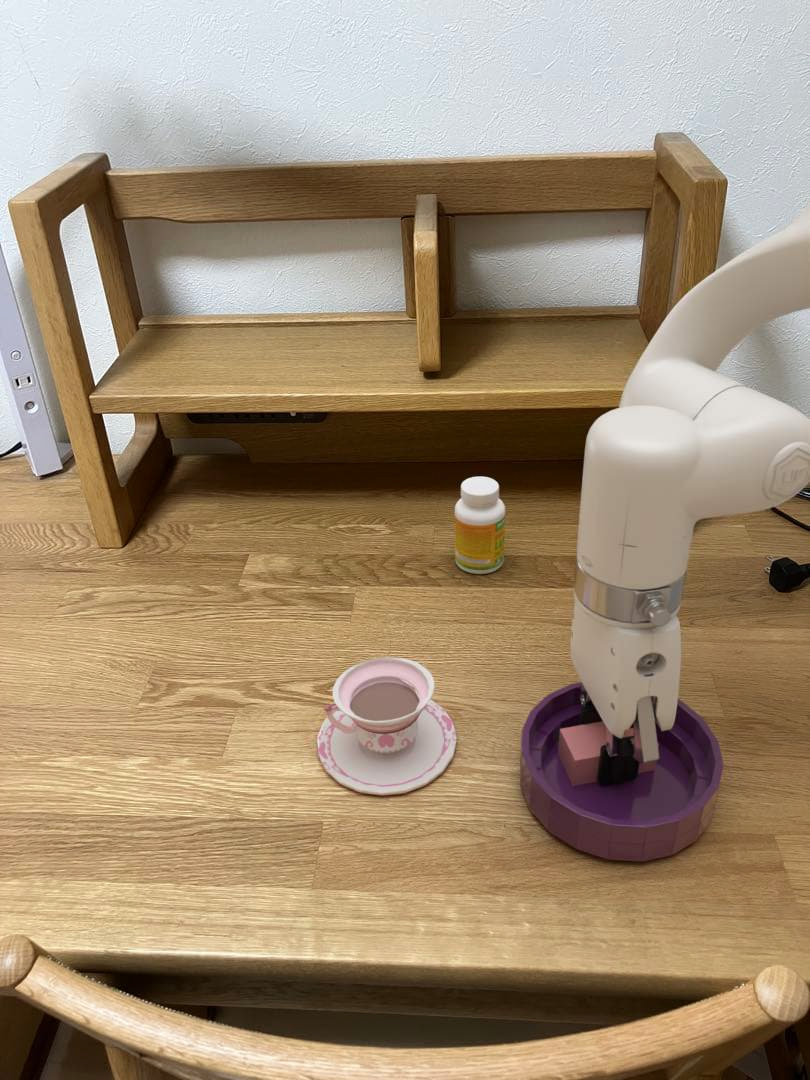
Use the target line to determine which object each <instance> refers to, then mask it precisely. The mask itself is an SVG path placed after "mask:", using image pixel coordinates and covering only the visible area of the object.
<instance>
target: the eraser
mask: <svg viewBox="0 0 810 1080" xmlns="http://www.w3.org/2000/svg"><path fill="white" fill-rule="evenodd" d="M606 728H607V727H606V725H605V724H604V722H603V721H602V722H596V723H591V724H585V725H579V726H573V727H568V728H562V729H560V734H559V747H558V756H559V758H560V760H561V762H562V764H563V767H564V769H565V771H566V773H567V775H568V777H569V779H570V782H571V784H572V786H577V785H582V784H587V783H592V782H597V781H598V780H597V776H598V767H599V758H600V749H601V746H603V745H606ZM628 736H633V728H631V729H628V730H625V735H624V736H623V737H628ZM658 747H659V744H658ZM655 765H656V762H651V763H646V764H641V763H639V770H638V774H639V773H644V772H649V771H654V770H655Z"/></svg>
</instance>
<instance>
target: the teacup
mask: <svg viewBox="0 0 810 1080" xmlns="http://www.w3.org/2000/svg"><path fill="white" fill-rule="evenodd" d="M434 693H435V679H434V677H433V675H432V673H431V672H430V670H429V669H427V667H425V666H424V665H422V664H420V663H418V662H416V661H414V660H411V659H408V658H404V657H397V656H396V657H395V656H386V657H385V656H384V657H376V658H371V659H367V660H364V661H361V662H359V663H357V664H355V665H352V666H351V667H349V668H347V669H346V670H345V671H343V672H342V673H341V674H340V675H339V677H338V678H337V679H336V681H335V683H334V685H333V687H332V699H333V702H334V703H333V704H328V705H327V706H325V707H324V708H323V711H325V712H326V714H327V717H326V718H325V719H324V720H323V721H322V724H321V726H320V729H319V732H318V734H317V736H316V742H317V757H318V758H319V761H320V762H321V764H322V767H323V769H324V771H325V773H327V774H328V775H329V776H331V778H333V780H335V781H336V782H337V783H338V784H339V785H341V786H343V787H346V788H348V789H351V790H353V791H355V792H358V793H359V794H360V793H361V794H368V795H374V796H375V795H376V796H391V795H392V796H393V795H400V794H406V793H410V792H411V791H414V790H416V789H419V788H422V787H425V786H427V785H428V784H430V783H431V782H432V781H434V780H435V779H437V777H439V776H440V775H441V774H443V773H444V772H445V770H446V769H447V767H448V765H449V764H450V763H451V761H453V758H454V756H455V751H456V746H457V742H458V737H457V733H456V728H455V723H454V721H453V720H452V718H451V717H450V715H449V713H447V711H446V710H445V708H444V707H442V706H441V705H440V704H438V703H436V701H434V700H432V697H433V696H434Z"/></svg>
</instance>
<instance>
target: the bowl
mask: <svg viewBox="0 0 810 1080" xmlns="http://www.w3.org/2000/svg"><path fill="white" fill-rule="evenodd" d="M581 685H582V682H580V681H579V682H574V683H571V684H568V685H566V686H563V687H561V688H559V689H557V690H555V691H552V692H550V693H548V694H547V695H545V696H544V698H543V699H541V700H540V701H539V702H538V703H537V704H536V705H534V707H532V709H531V710H530V711H529V714H528V716H527V718H526V720H525V723H524V725H523V727H522V728H521V735H520V736H521V737H520V738H521V739H520V756H519V757H520V760H519V761H520V762H519V786H520V789H521V792H522V794H523V796H524V799H525V802H526V804H527V807H528V809H529V811H530V812H531V813H532V814H533V815H534V817H536V818H537V820H538V821H539V823H540V824H541V825H542V826H543V827H544V828H545V829H546V830H547V832H549V833H550V834H552V835H554V836H555V837H557V838H558V839H560V840H561V841H563V842H564V843H566V844H567V845H569V846H571V847H572V848H574V849H576V850H578V851H580V852H584V853H587V854H589V855H593V856H595V857H600V858H603V859H604V860H610V861H626V862H627V861H628V862H647V861H651V860H655V859H661V858H664V857H665V858H666V857H670V856H673V855H675V854H677V853H678V852H680V851H682V850H683V849H685V848H687V847H688V846H690V845H691V844H693V843H695V842H696V841H698V839H699V838H700V836H702V834H703V833H704V831H705V830H706V828H707V827H708V826H709V824H710V823H711V821H712V819H713V815H714V811H715V806H716V802H717V799H718V794H719V789H720V784H721V780H722V775H723V769H724V759H723V755H722V751H721V747H720V743H719V740H718V738H717V737H716V735H715V734H714V732H713V730H712V729H711V728H710V726H709V725H708V723H707V722H706V721H705V719H704V717H702V716H701V715H700V714H698V713H697V712H696V711H695V710H694V709H692V708H691V707H690V706H688V704H686V703H685V702H684V701H683V700H681V699H679V698H678V702H677V710H676V717H675V721H674V725H673V727H672V728H671V729H670V730H665V731H661V729H660V727H659V726H658V724H657V722H656V721H655V726H656V734H657V742H658V744H659V747H658V750H659V761H656V765H655V770H654V771H649V772H644V773H639V774H638V776H637V778H636V779H634V780H630V781H627V782H623V783H614V784H609V785H604V786H602V785H600V784H599V782H598V781H597V782H592V783H587V784H582V785H577V786H572V784H571V782H570V779H569V777H568V775H567V773H566V771H565V769H564V767H563V764H562V762H561V760H560V758H559V756H558V747H559V734H560V729H562V728H568V727H573V726H579V722H580V711H581V708H584V707H586V706H583V705H582V703H581V700H580V690H581Z"/></svg>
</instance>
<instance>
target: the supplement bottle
mask: <svg viewBox="0 0 810 1080" xmlns="http://www.w3.org/2000/svg"><path fill="white" fill-rule="evenodd" d="M505 537H506V505H505V503H504V502H503V500H502V499H501V498H500V485H499V483H498V481H496V480H495V479H493V478H491V477H488V476H472V477H469V478H468V477H467V478H466V479H465V480H463V481H462V482H461V485H460V498H459V499H458V501H457V502H456V504H455V506H454V560H455V564H456V565H457V566H458V568H459V569H460V570H462V571H463V572H466V573H469V574H474V575H485V574H486V575H487V574H490V573H494V572H495V571H498V570H499V569H500V568H501V567H502V566H503V565H504V561H505Z"/></svg>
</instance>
